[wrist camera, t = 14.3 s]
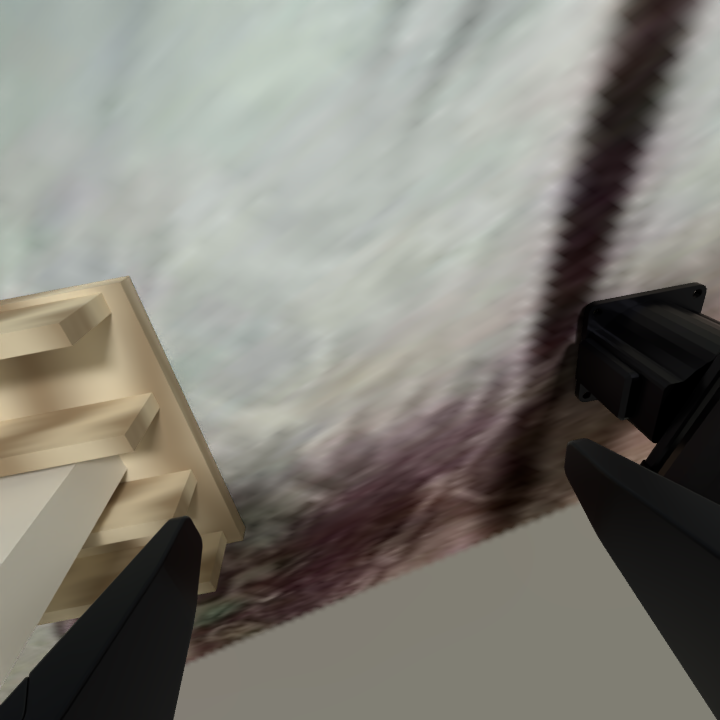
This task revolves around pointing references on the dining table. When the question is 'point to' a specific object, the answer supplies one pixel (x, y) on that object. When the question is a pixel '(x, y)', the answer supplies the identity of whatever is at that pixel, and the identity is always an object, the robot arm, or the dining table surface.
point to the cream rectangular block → (45, 540)
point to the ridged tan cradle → (107, 428)
